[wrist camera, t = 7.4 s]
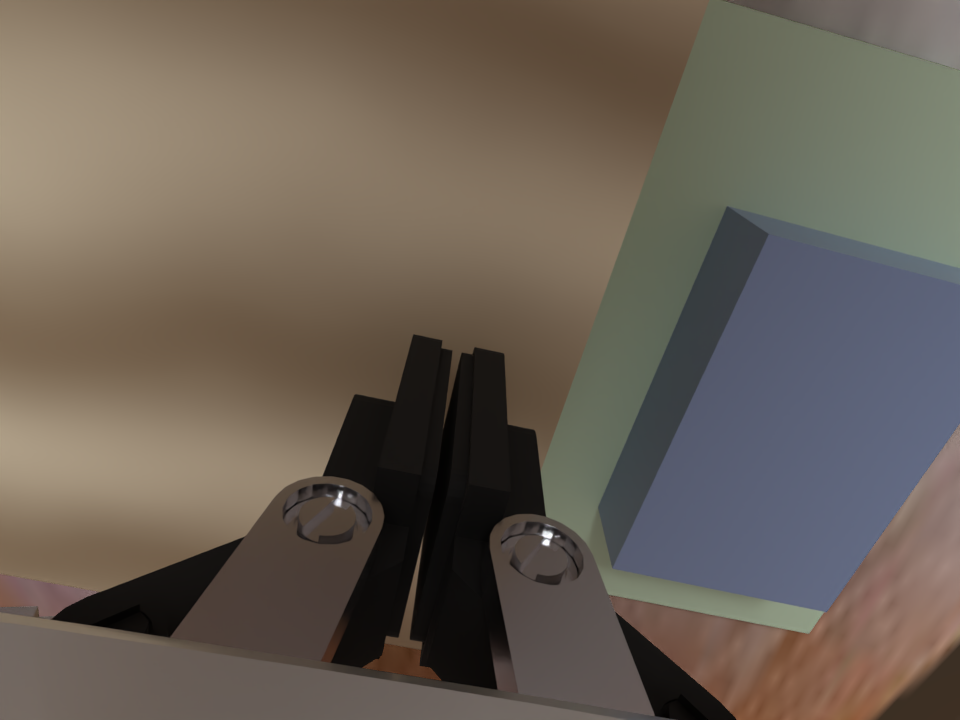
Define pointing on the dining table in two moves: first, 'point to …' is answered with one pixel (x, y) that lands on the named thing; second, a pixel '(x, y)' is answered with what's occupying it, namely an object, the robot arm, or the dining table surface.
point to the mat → (761, 190)
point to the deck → (290, 240)
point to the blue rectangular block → (787, 414)
